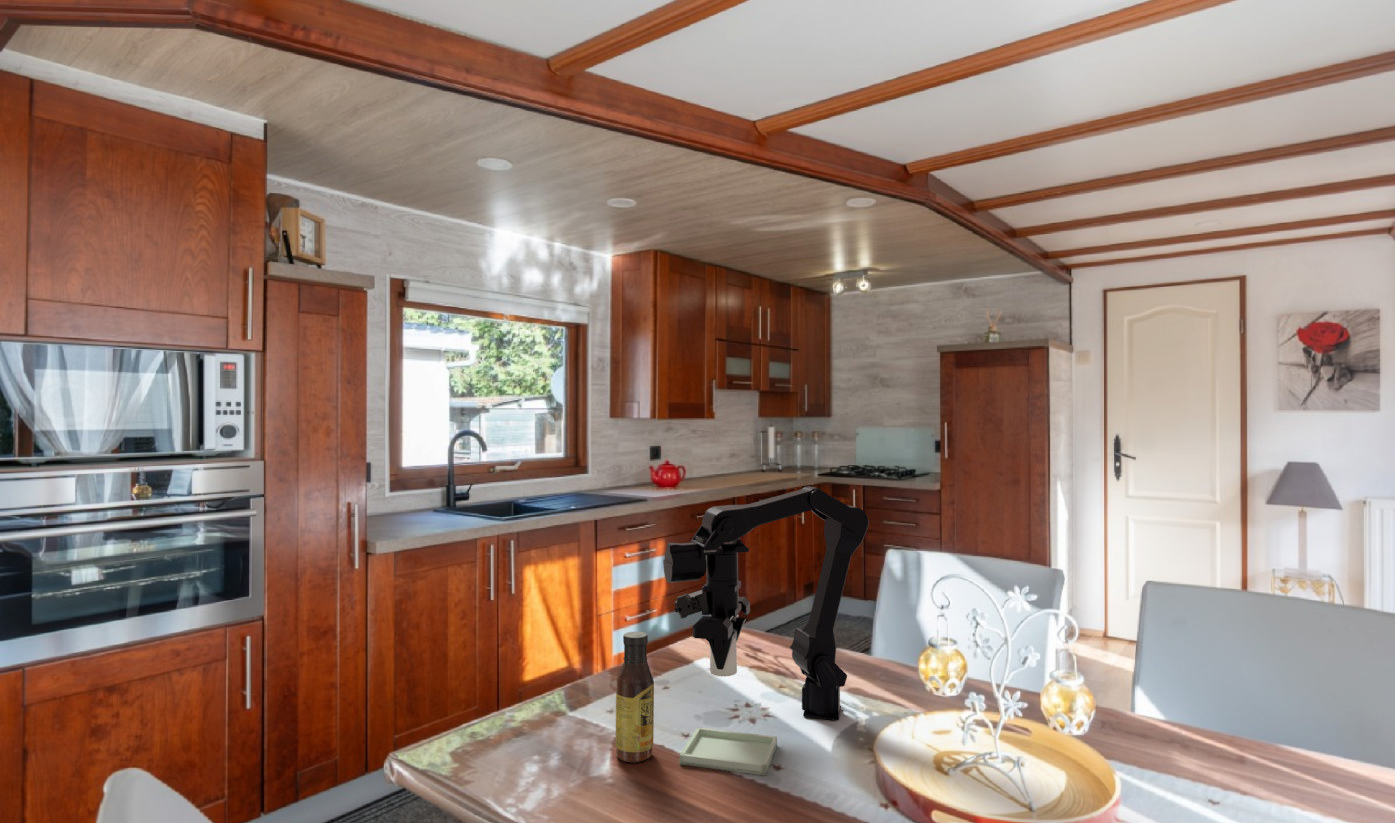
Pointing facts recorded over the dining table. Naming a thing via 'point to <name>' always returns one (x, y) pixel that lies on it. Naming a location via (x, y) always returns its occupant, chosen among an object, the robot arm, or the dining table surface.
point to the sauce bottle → (634, 701)
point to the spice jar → (730, 663)
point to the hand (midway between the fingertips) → (723, 664)
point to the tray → (729, 751)
